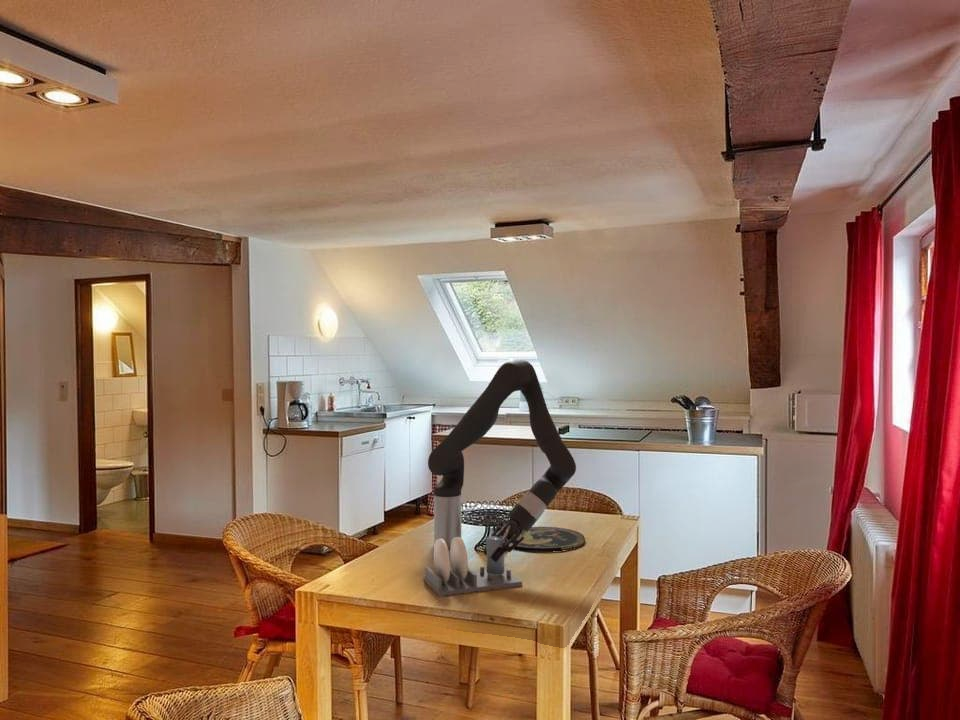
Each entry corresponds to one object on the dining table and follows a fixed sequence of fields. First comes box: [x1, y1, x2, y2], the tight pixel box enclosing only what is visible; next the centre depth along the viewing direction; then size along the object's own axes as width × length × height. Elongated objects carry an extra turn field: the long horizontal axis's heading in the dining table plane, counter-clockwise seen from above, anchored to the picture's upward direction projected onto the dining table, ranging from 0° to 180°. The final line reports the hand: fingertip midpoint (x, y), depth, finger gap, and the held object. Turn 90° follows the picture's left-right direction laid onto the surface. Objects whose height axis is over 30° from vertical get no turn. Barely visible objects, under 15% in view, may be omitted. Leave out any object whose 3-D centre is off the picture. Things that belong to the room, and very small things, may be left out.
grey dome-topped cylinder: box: [486, 535, 505, 575], centre depth 204 cm, size 5×5×10 cm
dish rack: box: [423, 537, 523, 597], centre depth 202 cm, size 15×24×13 cm, turn 111°
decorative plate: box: [510, 526, 586, 553], centre depth 247 cm, size 30×2×30 cm
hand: (489, 557), depth 203 cm, fingers closed on grey dome-topped cylinder, 5 cm apart
